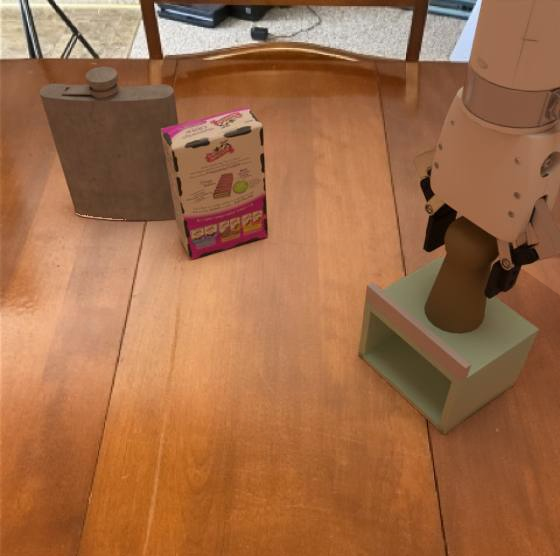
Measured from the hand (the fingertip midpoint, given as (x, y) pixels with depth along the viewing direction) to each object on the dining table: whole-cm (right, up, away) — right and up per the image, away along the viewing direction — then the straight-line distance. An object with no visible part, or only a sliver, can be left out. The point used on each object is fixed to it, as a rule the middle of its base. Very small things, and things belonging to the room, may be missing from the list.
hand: (466, 266), depth 64 cm
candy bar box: (-25, +8, +26) cm, 37 cm away
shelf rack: (0, -10, +12) cm, 15 cm away
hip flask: (-38, +12, +30) cm, 50 cm away
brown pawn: (0, -4, +5) cm, 6 cm away
